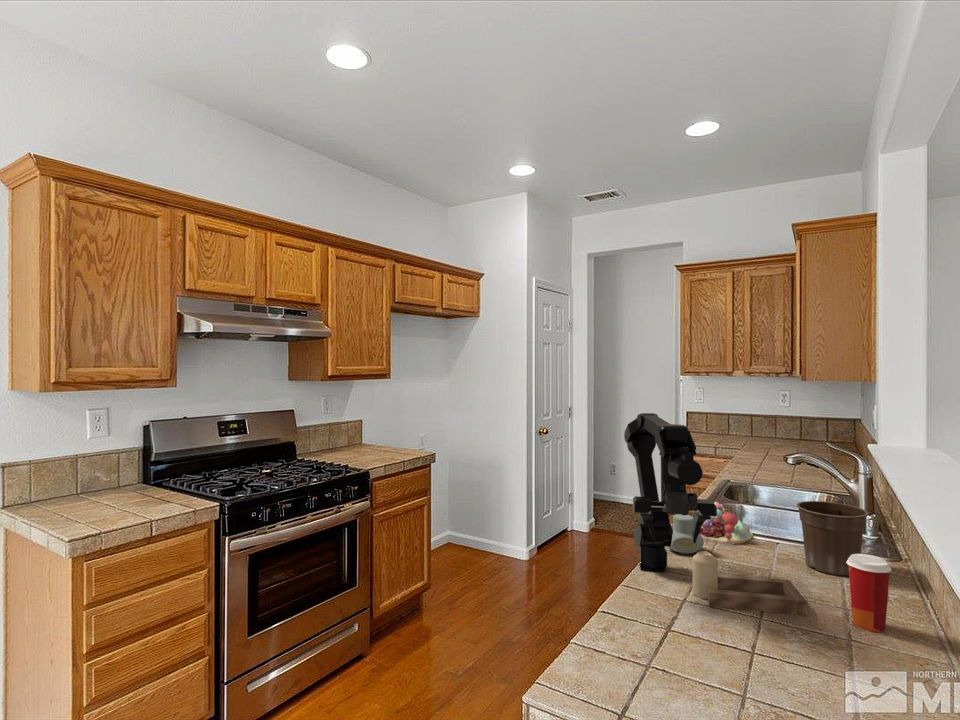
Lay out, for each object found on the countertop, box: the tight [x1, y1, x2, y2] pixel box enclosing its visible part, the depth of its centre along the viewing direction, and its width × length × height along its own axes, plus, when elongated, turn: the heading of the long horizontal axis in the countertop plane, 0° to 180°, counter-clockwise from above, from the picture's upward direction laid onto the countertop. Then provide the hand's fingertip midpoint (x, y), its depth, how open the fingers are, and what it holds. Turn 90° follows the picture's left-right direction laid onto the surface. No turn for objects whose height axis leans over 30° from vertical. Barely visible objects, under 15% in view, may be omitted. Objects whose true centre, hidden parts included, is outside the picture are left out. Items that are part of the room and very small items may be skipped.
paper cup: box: [846, 553, 892, 633], centre depth 115 cm, size 8×8×14 cm
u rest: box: [707, 573, 808, 616], centre depth 127 cm, size 20×12×3 cm, turn 76°
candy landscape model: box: [670, 501, 754, 545], centre depth 179 cm, size 25×24×9 cm
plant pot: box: [796, 500, 869, 576], centre depth 146 cm, size 16×16×16 cm
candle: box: [692, 550, 719, 600], centre depth 130 cm, size 6×6×10 cm
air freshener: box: [668, 514, 705, 555], centre depth 160 cm, size 11×8×10 cm
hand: (673, 541), depth 131 cm, fingers open, 9 cm apart
